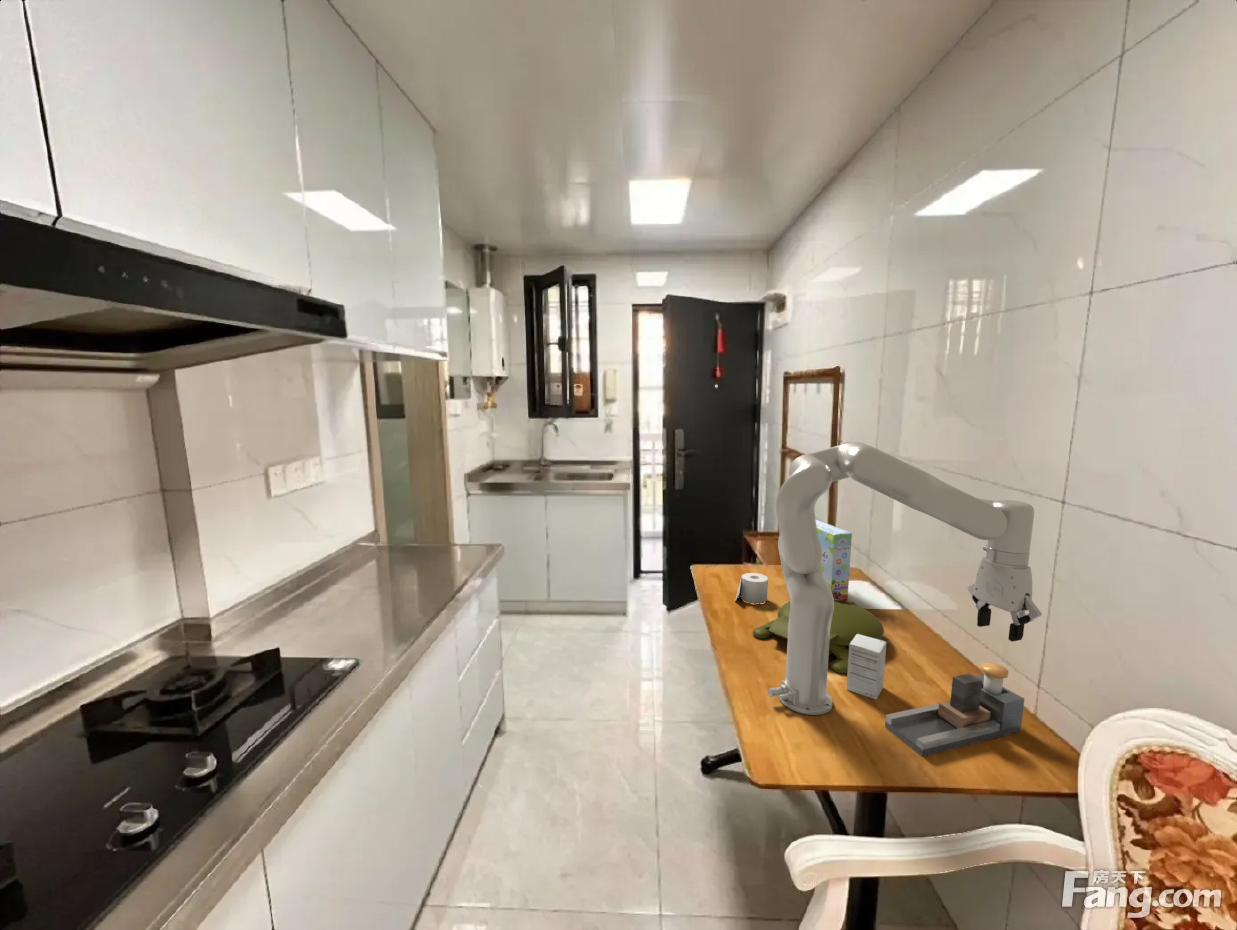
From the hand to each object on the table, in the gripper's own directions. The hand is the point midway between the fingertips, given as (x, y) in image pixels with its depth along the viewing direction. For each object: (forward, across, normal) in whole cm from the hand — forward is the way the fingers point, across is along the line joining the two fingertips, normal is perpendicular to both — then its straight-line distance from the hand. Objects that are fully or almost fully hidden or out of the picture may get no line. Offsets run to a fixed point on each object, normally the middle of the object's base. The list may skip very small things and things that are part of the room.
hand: (998, 632), depth 117 cm
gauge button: (+17, 0, 0) cm, 17 cm away
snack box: (+22, -78, +14) cm, 82 cm away
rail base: (+22, 0, -11) cm, 24 cm away
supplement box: (+22, -19, -18) cm, 34 cm away
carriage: (+20, 0, -8) cm, 21 cm away
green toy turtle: (+22, -46, -9) cm, 52 cm away
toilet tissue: (+22, -78, -16) cm, 82 cm away
